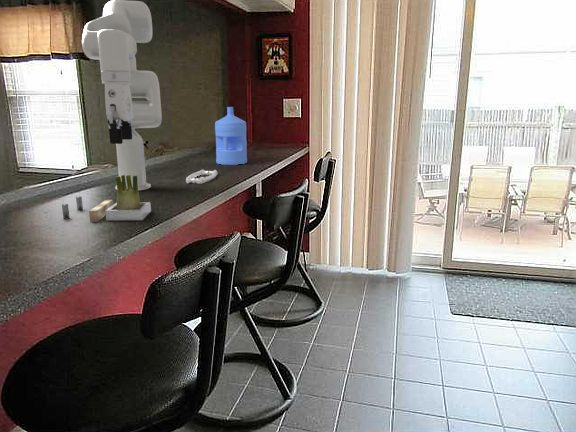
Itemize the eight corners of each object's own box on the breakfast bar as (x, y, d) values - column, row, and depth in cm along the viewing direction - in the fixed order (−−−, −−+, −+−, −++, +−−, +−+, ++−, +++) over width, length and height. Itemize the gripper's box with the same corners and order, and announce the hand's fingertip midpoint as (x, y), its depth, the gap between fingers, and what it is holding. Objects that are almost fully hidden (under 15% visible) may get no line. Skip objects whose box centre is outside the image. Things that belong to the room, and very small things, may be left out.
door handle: (180, 185, 182) (200, 174, 206) (204, 185, 181) (221, 175, 205) (179, 178, 182) (199, 168, 206) (204, 179, 180) (221, 168, 204)
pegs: (78, 209, 142) (77, 196, 141) (83, 209, 142) (82, 196, 141) (62, 218, 131) (60, 205, 130) (68, 218, 131) (66, 205, 130)
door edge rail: (106, 209, 142) (105, 199, 141) (113, 209, 142) (112, 199, 141) (90, 221, 128) (88, 211, 128) (97, 221, 128) (96, 211, 128)
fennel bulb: (141, 213, 137) (138, 173, 134) (135, 218, 132) (132, 176, 129) (122, 213, 137) (118, 173, 134) (115, 217, 132) (111, 176, 129)
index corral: (117, 211, 139) (116, 202, 138) (151, 211, 140) (150, 202, 139) (106, 220, 129) (105, 210, 129) (142, 220, 130) (141, 210, 129)
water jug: (224, 160, 246) (222, 106, 239) (251, 162, 242) (250, 106, 235) (210, 164, 232) (208, 107, 225) (239, 166, 227) (238, 107, 220)
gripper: (120, 78, 119) (126, 145, 124) (138, 78, 135) (142, 138, 140) (90, 78, 118) (97, 145, 123) (112, 78, 135) (117, 137, 140)
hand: (121, 141), depth 132 cm, fingers open, 9 cm apart
